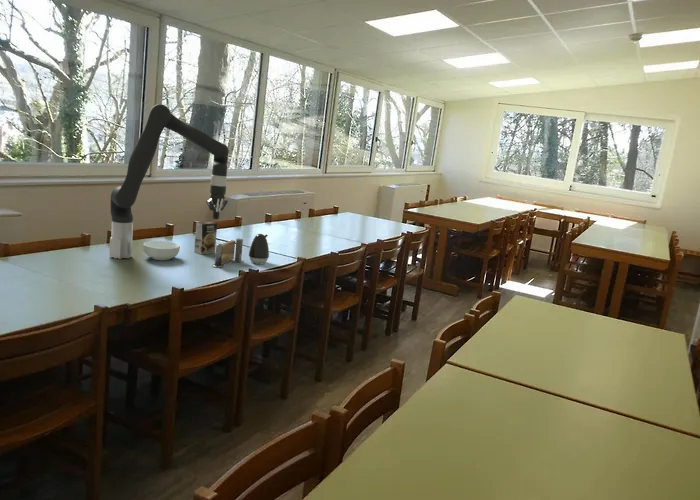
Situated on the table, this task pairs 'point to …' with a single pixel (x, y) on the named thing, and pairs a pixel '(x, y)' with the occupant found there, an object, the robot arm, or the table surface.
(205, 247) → the coffee box
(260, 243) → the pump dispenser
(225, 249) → the gate
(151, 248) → the cereal bowl
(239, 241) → the post
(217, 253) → the hinge post
